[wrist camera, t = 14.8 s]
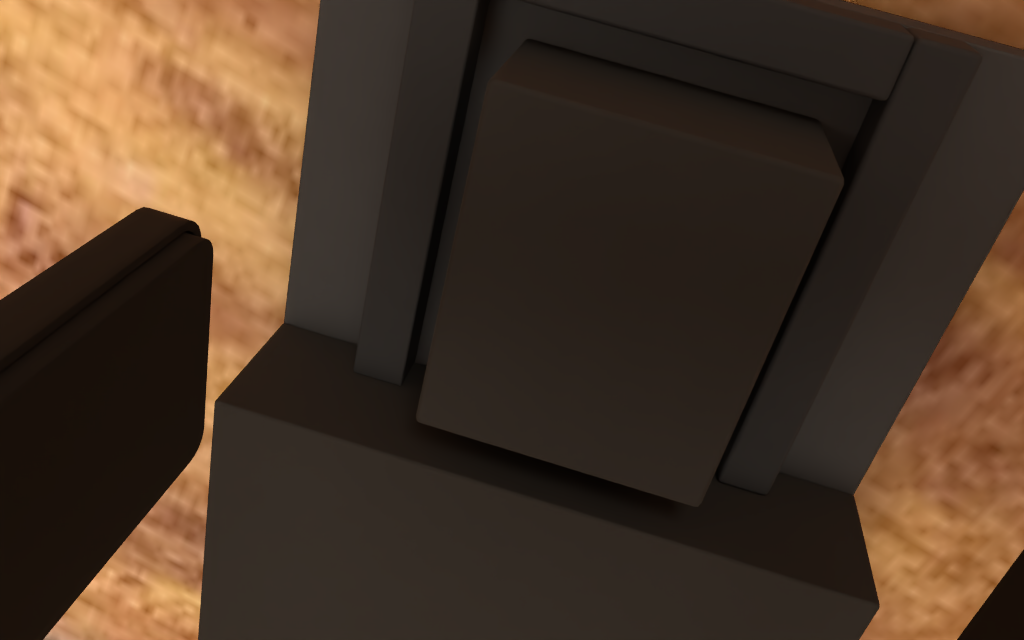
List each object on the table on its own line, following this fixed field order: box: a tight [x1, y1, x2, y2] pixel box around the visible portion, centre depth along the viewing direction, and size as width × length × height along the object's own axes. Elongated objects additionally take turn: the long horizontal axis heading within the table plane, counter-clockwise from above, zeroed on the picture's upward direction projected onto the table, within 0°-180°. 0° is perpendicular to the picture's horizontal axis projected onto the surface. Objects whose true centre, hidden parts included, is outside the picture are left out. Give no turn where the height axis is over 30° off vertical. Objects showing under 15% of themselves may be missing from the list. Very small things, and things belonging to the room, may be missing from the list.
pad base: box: [198, 0, 1024, 640], centre depth 17 cm, size 16×12×4 cm
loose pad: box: [416, 39, 844, 507], centre depth 15 cm, size 6×5×3 cm
